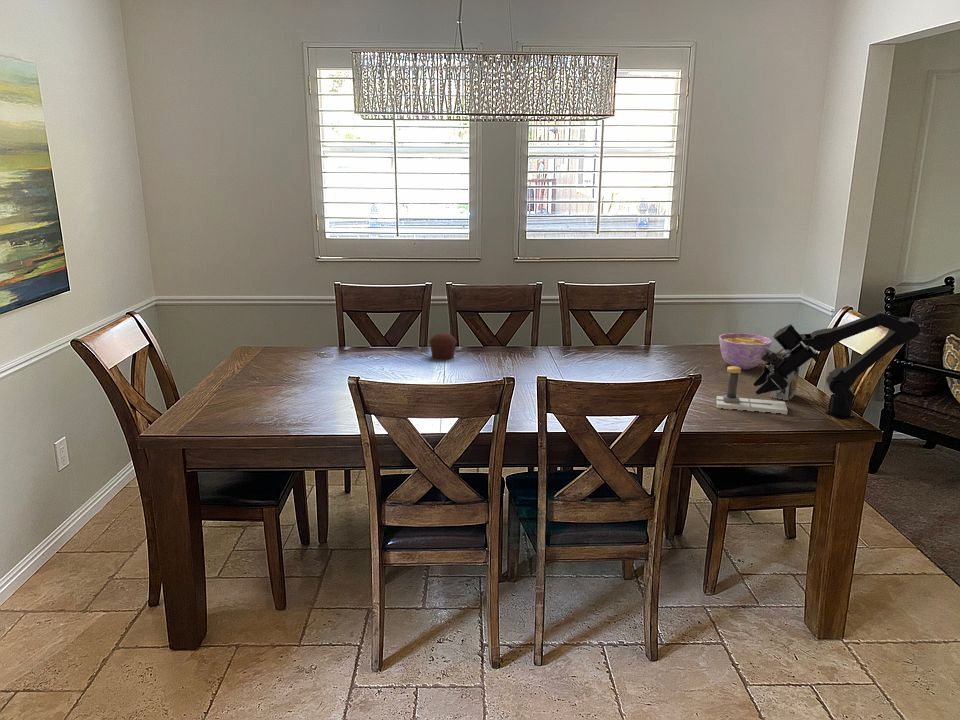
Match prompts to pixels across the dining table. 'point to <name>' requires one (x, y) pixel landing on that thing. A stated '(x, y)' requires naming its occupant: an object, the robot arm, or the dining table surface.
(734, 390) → the lever
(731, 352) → the bowl of food
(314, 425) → the dining table surface
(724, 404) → the fader console
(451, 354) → the muffin
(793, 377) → the coffee box
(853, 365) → the robot arm
